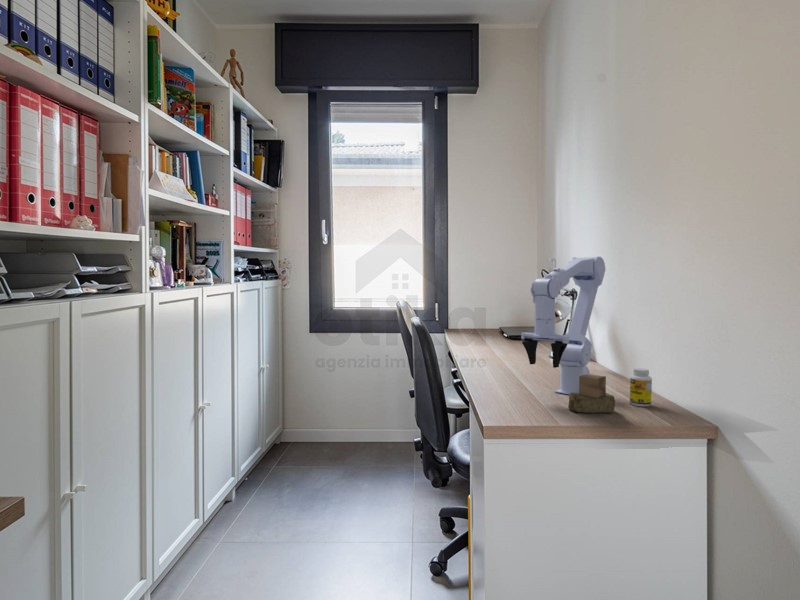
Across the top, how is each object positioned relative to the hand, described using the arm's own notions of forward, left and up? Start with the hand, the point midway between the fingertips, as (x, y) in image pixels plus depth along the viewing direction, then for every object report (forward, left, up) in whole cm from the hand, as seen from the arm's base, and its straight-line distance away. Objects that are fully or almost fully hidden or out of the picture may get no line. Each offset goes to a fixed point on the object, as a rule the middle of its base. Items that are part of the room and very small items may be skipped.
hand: (544, 365), depth 149 cm
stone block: (+1, +15, -11) cm, 18 cm away
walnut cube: (+2, +16, -6) cm, 17 cm away
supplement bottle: (-16, +21, -11) cm, 29 cm away
